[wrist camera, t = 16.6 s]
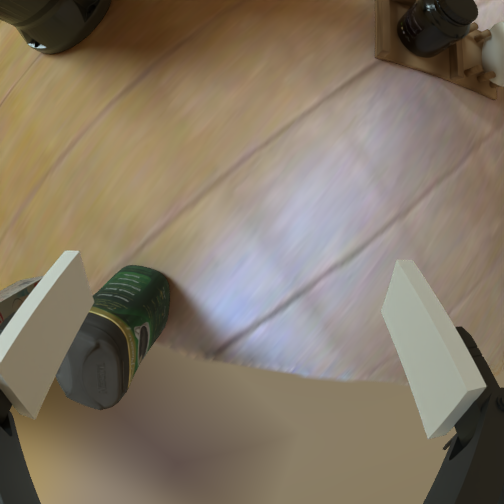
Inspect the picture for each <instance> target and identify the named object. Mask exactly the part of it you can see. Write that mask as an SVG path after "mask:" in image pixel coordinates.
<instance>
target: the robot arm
mask: <svg viewBox="0 0 504 504" xmlns="http://www.w3.org/2000/svg"><path fill="white" fill-rule="evenodd" d="M110 2H111V0H0V20H2V21H5V22H7V23H9V24H11V25H13V26H15V27H16V28H17V30H18V31H19V33H20V34H21V36H22V37H23V38H24V40H25V41H26V43H27V44H28V45H29V46H30V47H32V48H33V49H35V50H37V51H40V52H42V53H46V54H54V53H59V52H62V51H65V50H67V49H69V48H71V47H73V46H74V45H76V44H77V43H79V42H80V41H82V40H83V39H84V38H85V37H86V36H88V35H89V34H90V33H91V32H92V31H93V30H94V29H95V27H96V26H97V25H98V24H99V22H100V21H101V20H102V18H103V17H104V15H105V13H106V12H107V10H108V7H109V5H110ZM93 304H94V299H93V296H92V293H91V290H90V286H89V283H88V280H87V276H86V273H85V269H84V266H83V262H82V258H81V255H80V251H65V252H64V253H63V254H62V255H61V256H60V257H59V259H58V260H57V261H56V262H55V263H54V265H53V266H52V267H51V268H50V269H49V271H48V272H47V273H46V274H45V275H44V277H43V278H42V279H41V280H40V282H39V283H38V284H37V286H36V287H35V288H34V289H33V291H32V292H31V293H30V295H29V296H28V297H27V298H26V300H25V301H24V302H23V304H22V305H21V306H20V308H19V309H18V311H17V312H13V313H12V314H11V315H9V316H8V317H7V318H6V319H5V320H4V321H3V322H2V324H1V325H0V504H41V503H40V500H39V498H38V496H37V493H36V490H35V488H34V485H33V482H32V479H31V477H30V474H29V471H28V468H27V465H26V462H25V459H24V455H23V452H22V449H21V446H20V442H19V438H18V435H17V431H16V427H15V423H14V418H13V416H12V414H11V412H10V411H9V410H10V408H11V406H12V405H13V406H14V408H15V409H16V410H17V411H18V412H19V414H21V415H24V416H27V417H29V418H32V419H36V417H37V414H38V412H39V410H40V407H41V405H42V403H43V401H44V399H45V397H46V394H47V392H48V390H49V388H50V386H51V384H52V382H53V379H54V377H55V375H56V373H57V371H58V369H59V367H60V365H61V363H62V361H63V359H64V357H65V355H66V353H67V351H68V349H69V348H70V346H71V344H72V342H73V340H74V338H75V336H76V334H77V332H78V331H79V329H80V327H81V325H82V323H83V321H84V320H85V318H86V316H87V314H88V312H89V311H90V309H91V307H92V305H93ZM381 313H382V315H383V318H384V320H385V323H386V325H387V327H388V330H389V332H390V335H391V337H392V340H393V342H394V345H395V347H396V350H397V352H398V355H399V358H400V360H401V363H402V366H403V368H404V371H405V374H406V376H407V379H408V382H409V385H410V387H411V390H412V393H413V396H414V398H415V402H416V405H417V408H418V411H419V414H420V416H421V419H422V423H423V426H424V429H425V432H426V435H427V438H428V439H431V438H435V437H440V436H444V435H446V434H447V433H448V432H449V431H450V430H451V429H452V428H453V427H454V426H455V429H456V432H457V433H456V434H455V436H454V437H453V438H452V439H451V440H450V441H449V442H448V443H447V444H446V445H445V446H444V448H443V449H444V450H446V449H447V448H448V447H449V446H450V447H449V449H448V452H447V454H446V457H445V459H444V461H443V463H442V466H441V468H440V470H439V472H438V475H437V477H436V479H435V481H434V483H433V485H432V487H431V489H430V491H429V493H428V495H427V497H426V499H425V501H424V503H423V504H504V388H500V387H499V385H498V383H497V381H496V380H495V378H494V376H493V374H492V372H491V370H490V368H489V366H488V364H487V363H486V361H485V359H484V357H482V354H481V352H480V350H479V348H477V345H476V343H475V341H474V340H473V338H472V336H471V335H470V334H469V333H468V332H467V331H466V330H465V329H464V328H463V327H455V326H454V325H453V323H452V321H451V320H450V318H449V316H448V314H447V313H446V311H445V310H444V308H443V306H442V305H441V303H440V301H439V300H438V298H437V297H436V295H435V293H434V292H433V290H432V289H431V287H430V286H429V284H428V283H427V281H426V280H425V278H424V276H423V275H422V273H421V272H420V270H419V269H418V267H417V266H416V265H415V263H414V262H413V260H397V261H396V264H395V268H394V271H393V274H392V278H391V281H390V284H389V288H388V291H387V294H386V297H385V300H384V303H383V307H382V310H381Z"/></svg>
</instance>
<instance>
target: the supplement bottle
mask: <svg viewBox="0 0 504 504" xmlns="http://www.w3.org/2000/svg"><path fill="white" fill-rule="evenodd" d="M477 16H478V9H477V5H476V4H475V2H474V1H473V0H417V1H416V2H415V3H414V4H413V5H412V6H411V7H410V8H409V9H408V10H407V12H406V13H405V14H404V15H403V16H402V17H401V18H400V20H399V21H398V24H397V33H398V37H399V39H400V41H401V42H402V44H403V45H404V46H405V47H406V48H407V49H408V50H409V51H410V52H412V53H413V54H415V55H417V56H419V57H423V58H431V57H434V56H436V55H438V54H440V53H441V52H443V51H444V50H446V49H447V48H449V47H451V46H452V45H454V44H455V43H457V42H458V41H460V40H462V39H463V38H464V37H466V36H467V34H468V33H469V30H470V24H471V23H472V22H473V21H474V20H475V19H476V18H477Z"/></svg>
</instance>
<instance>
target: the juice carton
mask: <svg viewBox="0 0 504 504" xmlns="http://www.w3.org/2000/svg"><path fill="white" fill-rule="evenodd" d="M43 277H44V276H41V277H35V278H30V279H25V280H20V281H18V282H16V283H14V284H12V285H10V286H9V287H7V288H5V289H3V290H1V291H0V325H1V324H2V322H3V321H4V320H5V319H6V318H7V317H8V316H9V315H11V314H12V313H13V312H17V311H18V309H19V308H20V306H21V305H22V304H23V302H24V301H25V300H26V298H27V297H28V296H29V295H30V293H31V292H32V291H33V289H34V288H35V287H36V286H37V284H38V283H39V282H40V280H41V279H42V278H43Z"/></svg>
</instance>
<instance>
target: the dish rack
mask: <svg viewBox="0 0 504 504" xmlns="http://www.w3.org/2000/svg"><path fill="white" fill-rule="evenodd" d="M416 1H417V0H375V58H378V59H382V60H386V61H389V62H393V63H396V64H400V65H403V66H407V67H410V68H413V69H416V70H419V71H422V72H425V73H428V74H431V75H434V76H437V77H440V78H442V79H445V80H448V81H450V82H453V83H455V84H458V85H460V86H463V87H465V88H468V89H470V90H473V91H475V92H477V93H479V94H482V95H484V96H486V97H488V98H490V99H493V100H496V99H497V91H496V87H498V86H501V87H504V22H499V23H497V24H495V25H494V26H493V27H492V28H491V29H490V30H488V29H487V30H485V31H483V32H481V31H479V30H477V29H478V25H477V24H476V23H475V22H474V23H472V24H470V30H469V33H468V34H467V36H466V37H464V38H463V39H462V40H460V41H458V42H457V43H455V44H454V45H452V46H451V47H449V48H447V49H446V50H444V51H443V52H441V53H440V54H438V55H436V56H434V57H431V58H423V57H419V56H417V55H415V54H413V53H412V52H410V51H409V50H408V49H407V48H406V47H405V46H404V45H403V44H402V42H401V41H400V39H399V37H398V33H397V24H398V21H399V20H400V18H401V17H402V16H403V15H404V14H405V13H406V12H407V10H408V9H409V8H410V7H411V6H412V5H413V4H414V3H415V2H416Z"/></svg>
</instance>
